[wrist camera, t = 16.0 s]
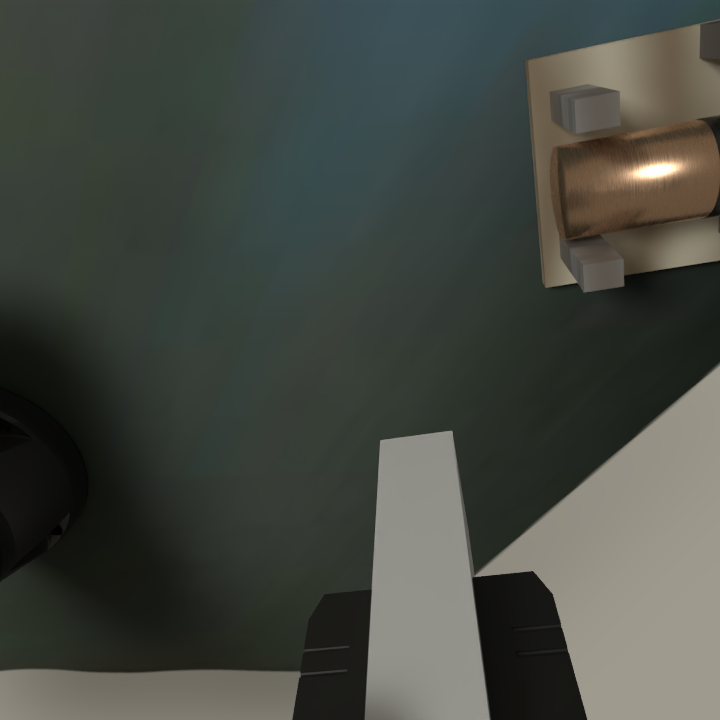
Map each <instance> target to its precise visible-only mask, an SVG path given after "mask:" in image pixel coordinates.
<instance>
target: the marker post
mask: <svg viewBox="0 0 720 720" xmlns="http://www.w3.org/2000/svg"><path fill="white" fill-rule="evenodd" d="M699 58H708V59H720V20H718V21H714V22H709V23H704V24H700V55H699Z"/></svg>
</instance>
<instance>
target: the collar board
mask: <svg viewBox="0 0 720 720" xmlns="http://www.w3.org/2000/svg"><path fill="white" fill-rule="evenodd" d="M718 20H720V19H718ZM718 20H713V21H709V22H714V21H718ZM709 22H704V23H709ZM704 23H699V24H695V25H690V26H685V27H680V28H676V29H671V30H666V31H662V32H657V33H652V34H647V35H643V36H638V37H633V38H628V39H624V40H619V41H614V42H610V43H605V44H600V45H595V46H591V47H586V48H581V49H576V50H572V51H567V52H562V53H558V54H553V55H548V56H543V57H539V58H534V59H529V60H525V66H526V79H527V91H528V104H529V116H530V129H531V141H532V154H533V166H534V179H535V191H536V204H537V216H538V229H539V241H540V254H541V266H542V279H543V284H544V286H545V287H546V288H547V287H554V286H560V285H566V284H573V283H578V284H579V286H580V287H581V288H582V290H583V291H584V292H590V291H597V290H603V289H610V288H616V287H623V286H624V275H630V274H636V273H643V272H649V271H655V270H662V269H668V268H674V267H681V266H687V265H693V264H700V263H706V262H712V261H719V260H720V216H717V217H711V218H705V219H701V218H699V219H692V220H686V221H680V222H674V223H668V224H662V225H655V226H649V227H643V228H637V229H631V230H625V231H619V232H612V233H606V234H600V235H594V236H588V237H582V238H575V239H569V240H563V239H562V238H561V237H560V235H559V232H558V229H557V226H556V222H555V217H554V212H553V206H552V199H551V188H550V158H551V152H552V149H553V147H554V146H559V145H564V144H570V143H575V142H580V141H586V140H591V139H597V138H602V137H608V136H613V135H618V134H624V133H629V132H635V131H640V130H646V129H651V128H656V127H662V126H667V125H673V124H678V123H684V122H689V121H694V120H696V119H700V118H705V117H711V116H716V115H720V59H708V58H699V55H700V24H704Z"/></svg>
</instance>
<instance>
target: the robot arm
mask: <svg viewBox="0 0 720 720" xmlns="http://www.w3.org/2000/svg"><path fill="white" fill-rule="evenodd" d="M87 486H88V485H87V475H86V471H85V467H84V464H83V461H82V459H81V456H80V454H79V452H78V450H77V448H76V447H75V445H74V443H73V442H72V441H71V439H70V438H69V436H68V435H67V434H66V433H65V431H64V430H63V429H62V428H61V427H60V426H59V425H58V424H57V423H56V422H55V421H54V420H53V419H52V418H51V417H50V416H48V415H47V414H46V413H45V412H43V411H42V410H41V409H39V408H38V407H36V406H35V405H33V404H32V403H30V402H28V401H27V400H25V399H23V398H21V397H19V396H17V395H15V394H12V393H10V392H8V391H5V390H2V389H0V582H1V581H2V580H3V579H5V578H6V577H8V576H9V575H11V574H12V573H14V572H15V571H17V570H18V569H20V568H21V567H23V566H24V565H26V564H27V563H29V562H30V561H32V560H33V559H35V558H36V557H38V556H39V555H41V554H42V553H44V552H45V551H47V550H48V549H50V548H51V547H52V546H54V545H55V544H56V543H57V542H58V541H59V540H61V539H62V537H63V536H64V535H65V534H66V533H67V531H68V530H69V529H70V527H71V526H72V525H73V523H74V522H75V520H76V519H77V518H78V516H79V515H80V513H81V511H82V509H83V507H84V504H85V501H86V497H87ZM304 650H305V653H304V654H303V659H302V665H301V671H300V672H301V678H299V683H298V690H297V695H296V701H295V707H294V714H293V720H587V717H586V713H585V710H584V706H583V702H582V699H581V695H580V692H579V688H578V685H577V681H576V677H575V674H574V670H573V666H572V662H571V659H570V655H569V653H568V650H567V644H566V641H565V637H564V633H563V630H562V628H561V623H560V619H559V616H558V612H557V608H556V604H555V601H554V597H553V594H552V593H551V592H550V591H549V589H548V588H547V587H546V586H545V585H544V583H543V582H542V581H541V580H540V579H539V578H538V576H537V575H536V574H535V573H534V572H533V571H531V572H521V573H511V574H501V575H491V576H481V577H474V569H473V562H472V555H471V547H470V540H469V533H468V527H467V520H466V514H465V508H464V502H463V495H462V489H461V483H460V477H459V471H458V464H457V458H456V452H455V446H454V439H453V433H452V431H446V432H439V433H432V434H424V435H417V436H409V437H402V438H395V439H387V440H380V455H379V473H378V491H377V509H376V527H375V544H374V562H373V580H372V590H363V591H353V592H343V593H334V594H324V596H323V598H322V599H321V601H320V603H319V604H318V606H317V607H316V609H315V611H314V612H313V614H312V616H311V617H310V619H309V622H308V628H307V634H306V640H305V646H304Z"/></svg>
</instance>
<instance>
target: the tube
mask: <svg viewBox="0 0 720 720" xmlns="http://www.w3.org/2000/svg"><path fill="white" fill-rule="evenodd" d="M550 188H551V199H552V206H553V212H554V217H555V222H556V226H557V229H558V232H559V235H560V237H561V238H562V239H563V240H569V239H575V238H582V237H588V236H594V235H600V234H606V233H612V232H619V231H625V230H631V229H637V228H643V227H649V226H655V225H662V224H668V223H674V222H680V221H686V220H692V219H699V218H701V219H705V218H711V217H717V216H720V115H716V116H711V117H705V118H700V119H696V120H694V121H689V122H684V123H678V124H673V125H667V126H662V127H656V128H651V129H646V130H640V131H635V132H629V133H624V134H618V135H613V136H608V137H602V138H597V139H591V140H586V141H580V142H575V143H570V144H564V145H559V146H554V147H553V149H552V152H551V158H550Z"/></svg>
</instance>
